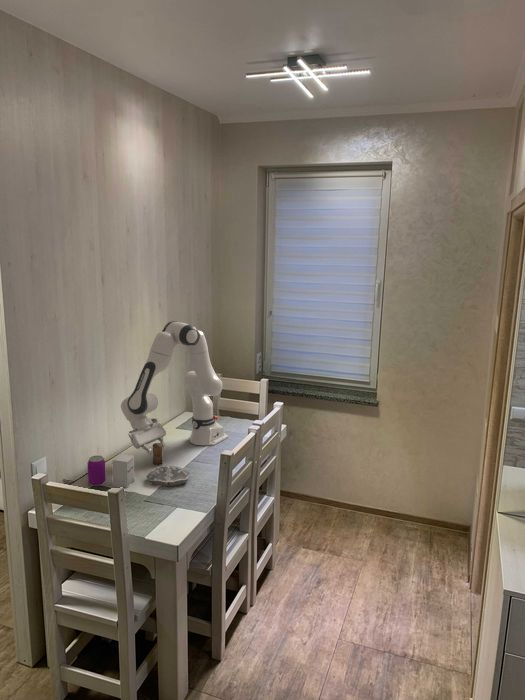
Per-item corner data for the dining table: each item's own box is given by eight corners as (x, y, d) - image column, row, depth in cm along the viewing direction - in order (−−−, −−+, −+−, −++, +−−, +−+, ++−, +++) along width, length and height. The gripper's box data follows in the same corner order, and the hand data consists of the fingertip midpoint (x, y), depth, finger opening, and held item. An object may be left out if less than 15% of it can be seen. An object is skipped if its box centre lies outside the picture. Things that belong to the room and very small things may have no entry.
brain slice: (188, 470, 249) (188, 465, 249) (190, 487, 233) (190, 481, 232) (147, 472, 246) (147, 466, 245) (146, 489, 229) (145, 483, 229)
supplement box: (127, 488, 229) (126, 462, 227) (112, 486, 231) (111, 460, 228) (134, 480, 236) (134, 455, 234) (119, 478, 238) (119, 453, 235)
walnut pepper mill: (158, 460, 258) (158, 442, 256) (164, 463, 255) (164, 444, 253) (150, 463, 255) (150, 444, 253) (156, 466, 252) (156, 447, 250)
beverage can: (109, 481, 235) (108, 456, 233) (97, 488, 228) (96, 463, 226) (96, 477, 238) (95, 453, 236) (84, 484, 231) (83, 459, 229)
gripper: (130, 429, 246) (145, 452, 243) (159, 417, 263) (173, 439, 261) (123, 435, 249) (138, 459, 246) (152, 424, 267) (167, 445, 264)
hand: (156, 449), depth 254 cm, fingers open, 8 cm apart
